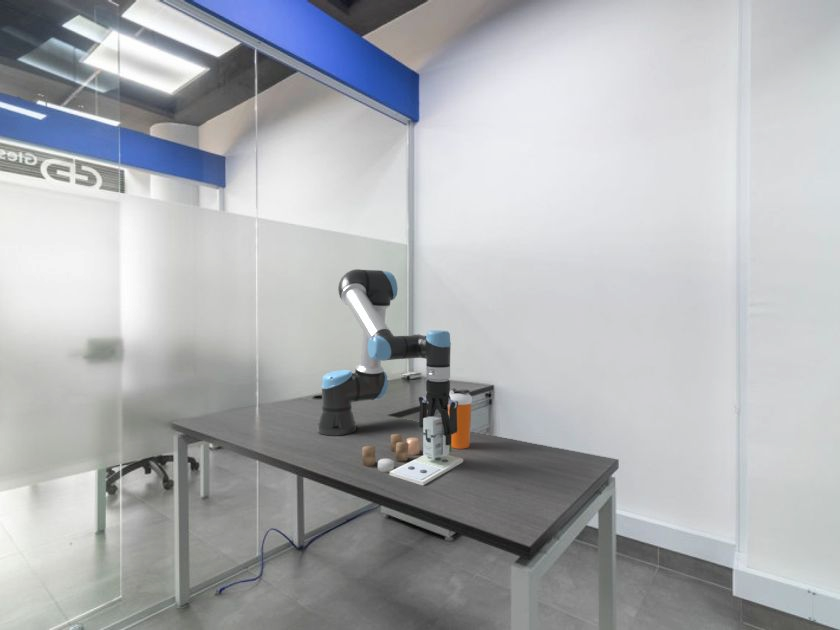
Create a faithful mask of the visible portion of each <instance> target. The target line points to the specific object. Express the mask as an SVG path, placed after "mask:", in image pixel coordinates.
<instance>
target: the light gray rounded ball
mask: <svg viewBox="0 0 840 630" xmlns="http://www.w3.org/2000/svg"><path fill="white" fill-rule="evenodd" d="M394 469H395V461H394V460H393V459H391V458H380V459H379V460H378V461H377V470H378V471H379V472H381V473H390V471H392V470H394Z"/></svg>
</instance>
